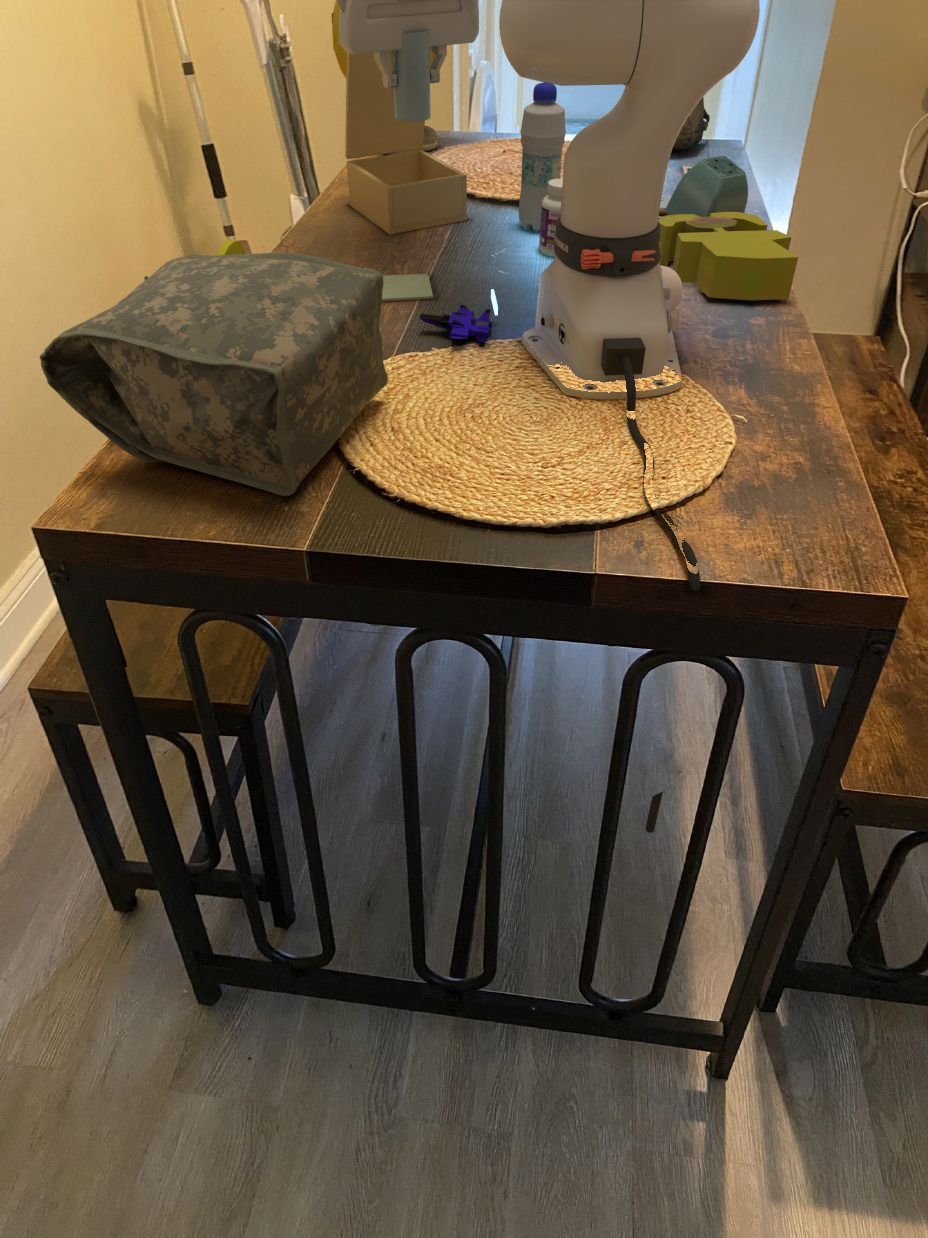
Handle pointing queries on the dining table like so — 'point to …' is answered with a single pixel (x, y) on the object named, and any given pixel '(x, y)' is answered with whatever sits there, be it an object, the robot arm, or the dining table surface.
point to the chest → (407, 191)
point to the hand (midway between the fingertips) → (412, 84)
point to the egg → (672, 287)
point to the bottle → (540, 151)
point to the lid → (374, 112)
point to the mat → (406, 287)
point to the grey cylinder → (412, 78)
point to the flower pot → (710, 189)
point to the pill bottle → (550, 216)
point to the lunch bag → (229, 364)
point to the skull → (693, 128)
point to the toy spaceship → (462, 324)
